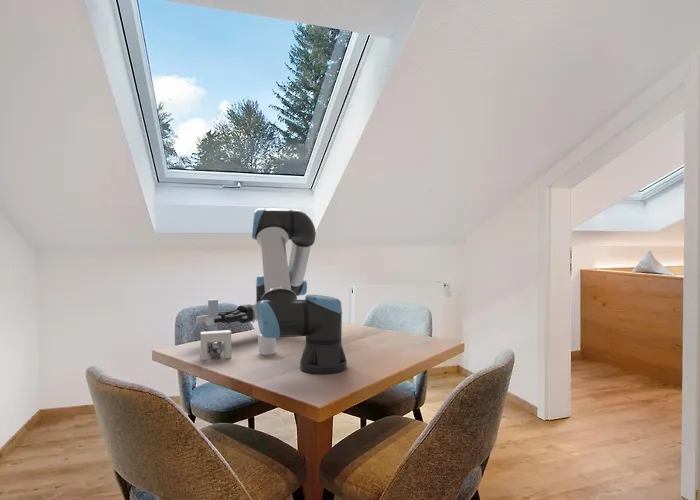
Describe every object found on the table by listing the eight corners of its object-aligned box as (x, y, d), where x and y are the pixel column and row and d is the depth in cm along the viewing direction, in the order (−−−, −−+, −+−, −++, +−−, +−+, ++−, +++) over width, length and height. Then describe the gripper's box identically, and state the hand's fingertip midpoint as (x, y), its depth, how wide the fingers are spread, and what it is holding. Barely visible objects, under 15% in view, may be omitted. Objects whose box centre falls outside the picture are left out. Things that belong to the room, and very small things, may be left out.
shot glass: (253, 352, 159) (253, 333, 159) (269, 349, 164) (269, 331, 164) (264, 356, 155) (264, 336, 154) (280, 352, 159) (280, 333, 159)
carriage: (221, 350, 162) (221, 302, 162) (206, 351, 160) (207, 302, 160) (219, 344, 172) (219, 298, 172) (205, 345, 170) (205, 299, 170)
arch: (231, 357, 152) (231, 332, 152) (200, 360, 149) (201, 334, 148) (230, 355, 156) (230, 330, 156) (200, 357, 152) (200, 331, 152)
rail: (220, 358, 151) (220, 352, 151) (211, 359, 150) (211, 353, 150) (216, 343, 173) (216, 338, 173) (208, 344, 172) (208, 339, 172)
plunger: (221, 351, 151) (221, 342, 151) (211, 352, 150) (211, 343, 150) (219, 346, 159) (219, 337, 159) (210, 346, 158) (210, 338, 158)
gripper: (263, 324, 179) (216, 333, 160) (233, 319, 189) (187, 328, 170) (263, 306, 179) (216, 313, 160) (233, 302, 189) (187, 309, 170)
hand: (201, 321), depth 165 cm, fingers closed on carriage, 5 cm apart
